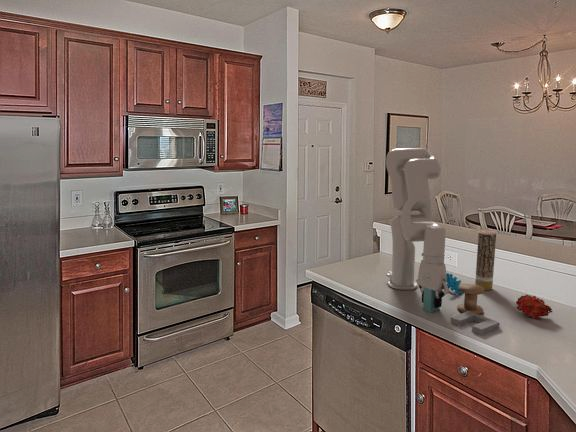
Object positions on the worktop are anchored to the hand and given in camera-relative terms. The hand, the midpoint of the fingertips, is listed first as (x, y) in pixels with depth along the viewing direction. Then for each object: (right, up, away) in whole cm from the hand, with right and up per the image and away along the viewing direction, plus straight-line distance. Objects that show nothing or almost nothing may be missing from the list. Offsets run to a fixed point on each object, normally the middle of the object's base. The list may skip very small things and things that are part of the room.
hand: (431, 304), depth 167 cm
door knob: (+14, -2, -1) cm, 14 cm away
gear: (+16, +1, +19) cm, 24 cm away
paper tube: (+30, +2, +22) cm, 37 cm away
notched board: (+10, -5, -14) cm, 18 cm away
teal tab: (0, -2, 0) cm, 2 cm away
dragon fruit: (+34, -3, -7) cm, 35 cm away
